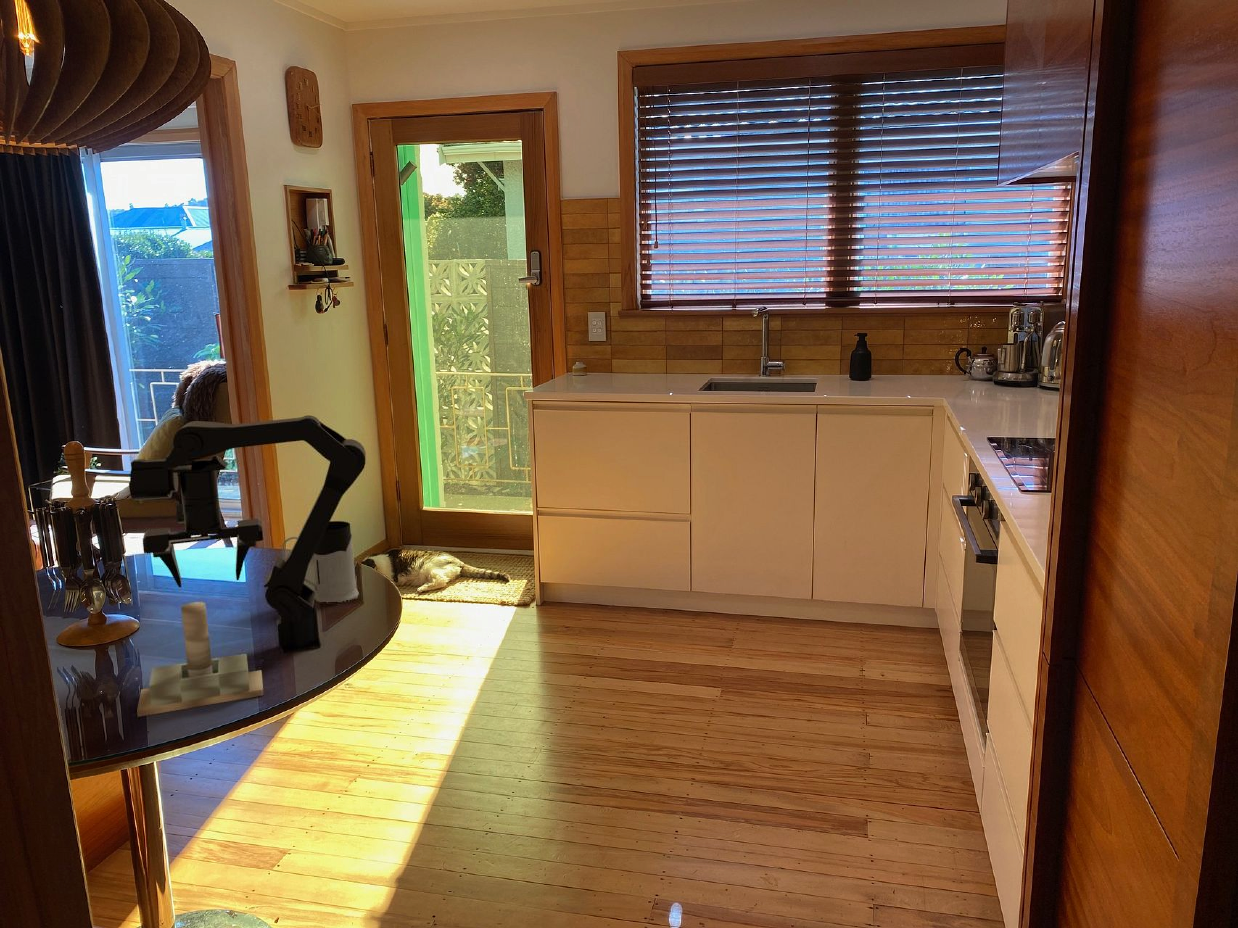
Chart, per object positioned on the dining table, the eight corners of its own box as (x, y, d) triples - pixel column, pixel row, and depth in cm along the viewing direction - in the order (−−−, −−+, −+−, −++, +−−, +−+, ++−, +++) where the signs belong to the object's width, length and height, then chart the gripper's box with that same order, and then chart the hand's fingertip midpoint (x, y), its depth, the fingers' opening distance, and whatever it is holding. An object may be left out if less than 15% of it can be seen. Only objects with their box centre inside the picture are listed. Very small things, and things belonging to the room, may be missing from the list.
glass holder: (362, 598, 194) (357, 528, 191) (290, 610, 188) (283, 537, 184) (354, 586, 201) (348, 518, 198) (284, 597, 195) (277, 527, 192)
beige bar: (205, 682, 153) (196, 600, 150) (219, 687, 151) (210, 604, 148) (185, 691, 150) (176, 607, 147) (199, 695, 148) (190, 611, 145)
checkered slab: (261, 675, 158) (259, 650, 157) (263, 695, 150) (260, 668, 149) (142, 695, 151) (138, 669, 150) (137, 716, 144) (134, 689, 143)
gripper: (256, 481, 172) (264, 563, 175) (142, 491, 165) (152, 576, 168) (259, 494, 162) (267, 581, 165) (138, 505, 155) (148, 596, 158)
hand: (209, 583), depth 164 cm, fingers open, 9 cm apart
